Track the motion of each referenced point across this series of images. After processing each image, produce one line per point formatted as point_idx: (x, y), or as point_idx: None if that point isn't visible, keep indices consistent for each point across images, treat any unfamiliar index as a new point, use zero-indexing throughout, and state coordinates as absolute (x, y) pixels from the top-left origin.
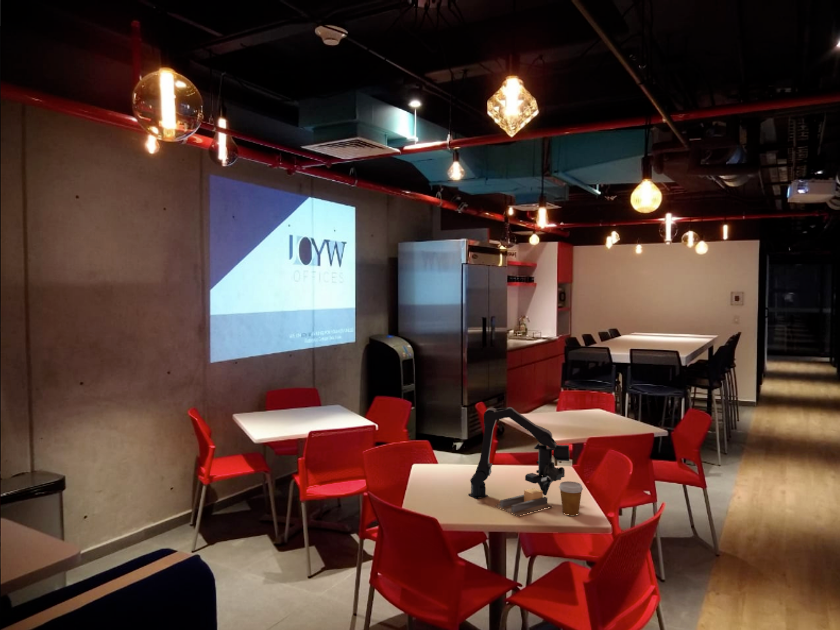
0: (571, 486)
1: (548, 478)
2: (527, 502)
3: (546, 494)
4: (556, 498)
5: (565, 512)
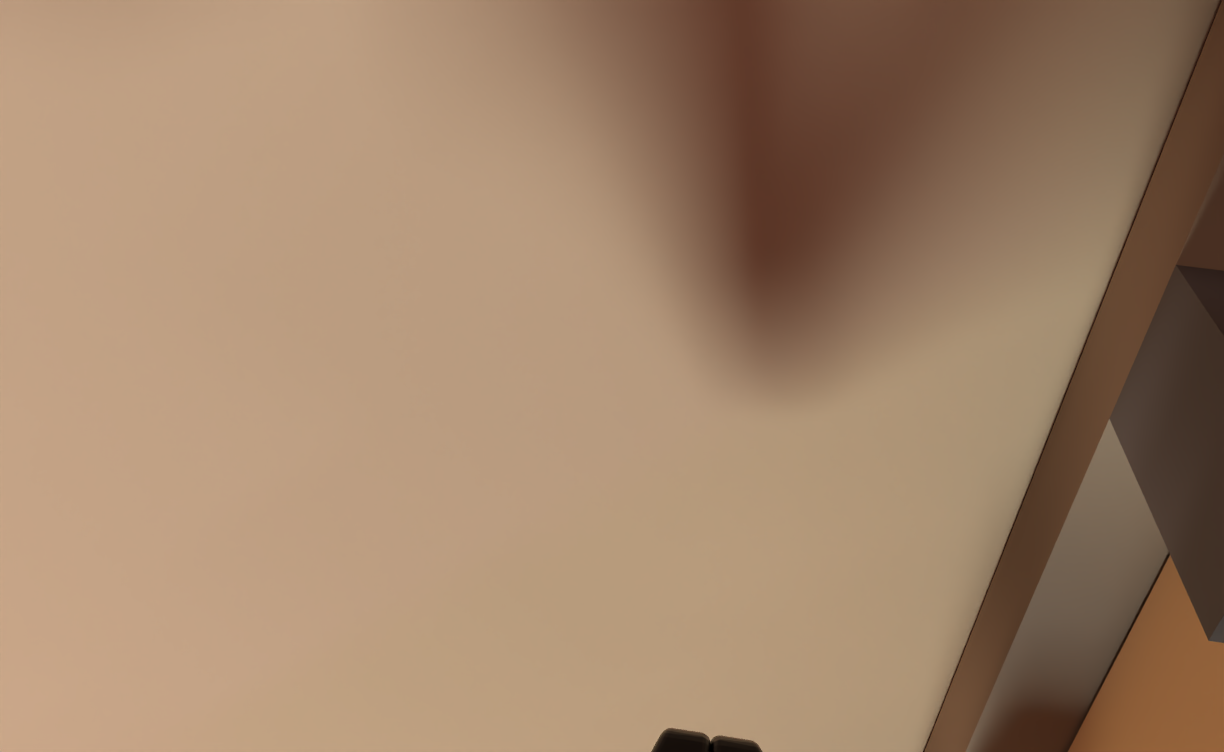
0: None
1: None
2: None
3: (666, 749)
4: (78, 465)
5: None
